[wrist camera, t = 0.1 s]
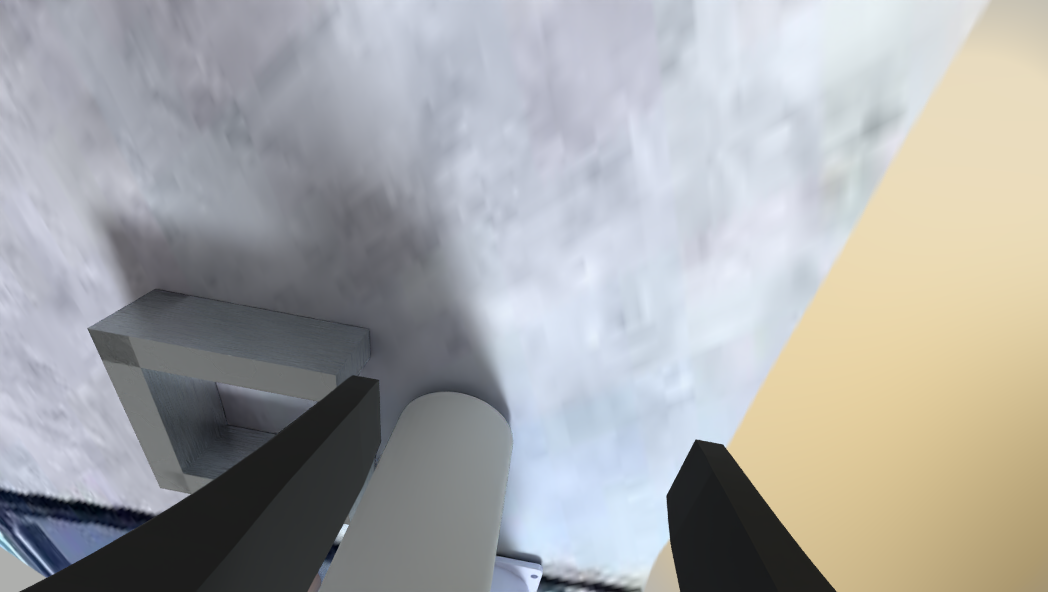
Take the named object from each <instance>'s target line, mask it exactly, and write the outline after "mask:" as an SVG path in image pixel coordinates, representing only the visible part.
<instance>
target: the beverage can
mask: <svg viewBox="0 0 1048 592" xmlns="http://www.w3.org/2000/svg"><path fill="white" fill-rule="evenodd" d="M512 447H513V436H512V432H511V429H510V426H509V425H508V423H507V421H506V420H505V418H504V417H503V416H502V415H501V414H500V413H499V412H498V411H497V410H496V409H495V408H493V407H492V406H491V405H489V404H488V403H486V402H484V401H482V400H480V399H478V398H476V397H473V396H470V395H467V394H463V393H457V392H435V393H430V394H426V395H423V396H421V397H418V398H416V399H415V400H413V401H412V402H411V403H409V404H408V405H407V406H406V408H405V409H404V411H403V412H402V414H401V415H400V417H399V419H398V422H397V424H396V426H395V428H394V430H393V432H392V434H391V437H390V439H389V441H388V443H387V445H386V447H385V449H384V452H383V454H382V456H381V458H380V460H379V462H378V464H377V467H376V469H375V471H374V473H373V475H372V477H371V479H370V481H369V484H368V486H367V488H366V490H365V492H364V494H363V496H362V499H361V501H360V503H359V505H358V507H357V509H356V511H355V514H354V516H353V518H352V520H351V522H350V524H349V526H348V528H347V531H346V533H345V535H344V537H343V539H342V541H341V543H340V546H339V548H338V550H337V552H336V554H335V556H334V558H333V561H332V563H331V565H330V567H329V569H328V571H327V573H326V576H325V578H324V580H323V582H322V584H321V586H320V588H319V590H318V592H490V590H491V584H492V577H493V571H494V564H495V558H496V551H497V545H498V538H499V532H500V525H501V519H502V512H503V506H504V499H505V493H506V486H507V479H508V473H509V466H510V460H511V453H512Z"/></svg>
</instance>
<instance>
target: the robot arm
mask: <svg viewBox="0 0 1048 592" xmlns="http://www.w3.org/2000/svg"><path fill="white" fill-rule="evenodd" d="M380 443H381V428H380V395H379V380H377V379H371V378H366V377H361V376H355V375H352V376H350V377H349V378H347V379H346V380H345V381H344V382H342V383H341V384H340V385H339V386H337V387H336V388H335V389H334V390H333V391H331V392H330V393H329V394H328V395H326V396H325V397H324V398H323V399H321V400H320V401H319V402H318V403H316V404H315V405H314V406H313V407H311V408H310V409H309V410H308V411H306V412H305V413H304V414H303V415H301V416H300V417H299V418H298V419H296V420H295V421H294V422H292V423H291V424H290V425H288V426H287V427H286V428H284V429H283V430H282V431H281V432H279V433H278V434H277V435H275V436H274V437H273V438H271V439H270V440H269V441H267V442H266V443H265V444H263V445H262V446H261V447H259V448H258V449H257V450H255V451H254V452H252V453H251V454H250V455H248V456H247V457H245V458H244V459H242V460H241V461H240V462H238V463H237V464H235V465H234V466H232V467H231V468H230V469H228V470H227V471H225V472H224V473H222V474H221V475H220V476H218V477H217V478H215V479H214V480H212V481H211V482H209V483H208V484H206V485H205V486H203V487H202V488H200V489H199V490H197V491H196V492H194V493H193V494H191V495H189V496H188V497H186V498H185V499H183V500H182V501H180V502H178V503H177V504H175V505H174V506H172V507H170V508H169V509H167V510H166V511H164V512H162V513H161V514H159V515H157V516H156V517H154V518H153V519H151V520H149V521H148V522H146V523H144V524H143V525H141V526H139V527H137V528H136V529H134V530H132V531H130V532H129V533H127V534H125V535H123V536H122V537H120V538H118V539H117V540H115V541H113V542H111V543H110V544H108V545H106V546H104V547H103V548H101V549H99V550H97V551H96V552H94V553H92V554H90V555H88V556H87V557H85V558H83V559H81V560H79V561H78V562H76V563H74V564H72V565H70V566H68V567H67V568H65V569H63V570H61V571H59V572H57V573H55V574H53V575H51V576H50V577H48V578H46V579H44V580H42V581H40V582H38V583H36V584H34V585H32V586H30V587H28V588H26V589H24V590H22V591H20V592H308V590H309V588H310V586H311V584H312V582H313V580H314V578H315V577H316V575H317V573H318V571H319V569H320V567H321V565H322V563H323V562H324V560H325V558H326V556H327V554H328V552H329V550H330V548H331V546H332V545H333V543H334V541H335V539H336V537H337V535H338V533H339V531H340V530H341V528H342V526H343V524H344V522H345V520H346V518H347V516H348V514H349V513H350V511H351V509H352V507H353V505H354V503H355V501H356V499H357V497H358V495H359V493H360V491H361V490H362V488H363V486H364V483H365V481H366V478H367V476H368V474H369V471H370V469H371V466H372V464H373V461H374V458H375V456H376V453H377V451H378V448H379V445H380ZM666 497H667V510H668V523H669V533H670V542H671V548H672V553H673V558H674V563H675V568H676V573H677V578H678V583H679V588H680V592H836V590H835V589H834V588H833V587H832V586H831V585H830V583H829V582H828V581H827V580H826V578H825V577H824V576H823V575H822V574H821V573H820V571H819V570H818V569H817V568H816V566H815V565H814V564H813V563H812V562H811V560H810V559H809V558H808V556H807V555H806V554H805V553H804V551H803V550H802V549H801V548H800V547H799V545H798V544H797V542H796V541H795V540H794V539H793V537H792V536H791V535H790V533H789V532H788V531H787V529H786V528H785V527H784V526H783V524H782V523H781V522H780V521H779V519H778V518H777V516H776V515H775V514H774V512H773V511H772V510H771V509H770V507H769V506H768V504H767V503H766V502H765V500H764V499H763V498H762V496H761V495H760V494H759V492H758V491H757V490H756V488H755V487H754V486H753V484H752V483H751V481H750V480H749V479H748V477H747V476H746V475H745V474H744V472H743V471H742V469H741V468H740V467H739V465H738V464H737V462H736V461H735V460H734V458H733V457H732V456H731V454H730V453H729V452H728V450H727V449H726V448H725V447H724V445H723V444H717V443H712V442H707V441H701V440H695V442H694V444H693V446H692V448H691V449H690V451H689V453H688V455H687V457H686V459H685V461H684V463H683V465H682V467H681V469H680V471H679V473H678V475H677V476H676V478H675V480H674V482H673V484H672V486H671V488H670V490H669V492H668V494H667V496H666ZM542 573H543V567H542V566H541V565H539V564H536V563H531V562H526V561H521V560H515V559H510V558H505V557H500V556H496V558H495V564H494V571H493V577H492V584H491V590H490V592H537V589H538V586H539V583H540V580H541V577H542Z"/></svg>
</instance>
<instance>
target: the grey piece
mask: <svg viewBox="0 0 1048 592" xmlns="http://www.w3.org/2000/svg"><path fill="white" fill-rule="evenodd" d="M87 329H88V331H89V333H90V335H91V337H92V340H93V342H94V344H95V346H96V348H97V350H98V353H99V355H100V357H101V359H102V361H103V364H104V366H105V368H106V370H107V372H108V375H109V377H110V379H111V381H112V383H113V386H114V388H115V390H116V392H117V394H118V396H119V399H120V401H121V403H122V405H123V407H124V410H125V412H126V414H127V416H128V418H129V421H130V423H131V425H132V427H133V429H134V431H135V434H136V436H137V438H138V440H139V442H140V445H141V447H142V449H143V451H144V453H145V456H146V458H147V460H148V462H149V464H150V467H151V469H152V471H153V473H154V475H155V477H156V480H157V482H158V484H159V486H160V488H163V489H168V490H173V491H178V492H183V493H188V494H193V493H194V492H196V491H197V490H199V489H200V488H202V487H203V486H205V485H206V484H208V483H209V482H211V481H212V480H214V479H215V478H217V477H218V476H220V475H221V474H222V473H224V472H225V471H227V470H228V469H230V468H231V467H232V466H234V465H235V464H237V463H238V462H240V461H241V460H242V459H244V458H245V457H247V456H248V455H250V454H251V453H252V452H254V451H255V450H257V449H258V448H259V447H261V446H262V445H263V444H265V443H266V442H267V441H269V440H270V439H271V438H273V437H274V436H275V435H277V434H272V433H267V432H261V431H256V430H251V429H246V428H240V427H235V426H230V425H228V424H227V421H226V417H225V414H224V410H223V407H222V404H221V400H220V397H219V393H218V390H217V387H216V383H215V382H218V383H224V384H229V385H234V386H239V387H245V388H250V389H255V390H260V391H266V392H271V393H276V394H282V395H287V396H292V397H297V398H303V399H308V400H313V401H318V402H319V401H320V400H321V399H323V398H324V397H325V396H326V395H328V394H329V393H330V392H331V391H333V390H334V389H335V388H336V387H337V386H339V385H340V384H341V383H342V382H344V381H345V380H346V379H347V378H349V377H350V376H352V375H355V376H358V375H359V373H360V372H361V370H362V369H363V367H364V366H365V364H366V363H367V361H368V360H369V358H370V338H369V329H366V328H360V327H355V326H350V325H344V324H339V323H334V322H328V321H323V320H318V319H312V318H307V317H302V316H296V315H291V314H286V313H280V312H275V311H270V310H264V309H259V308H254V307H248V306H243V305H238V304H232V303H227V302H222V301H216V300H211V299H206V298H200V297H195V296H190V295H184V294H179V293H174V292H168V291H163V290H158V289H154V290H153V291H151V292H149V293H147V294H146V295H144V296H142V297H141V298H139V299H137V300H135V301H134V302H132V303H130V304H129V305H127V306H125V307H123V308H122V309H120V310H118V311H117V312H115V313H113V314H111V315H110V316H108V317H106V318H105V319H103V320H101V321H99V322H98V323H96V324H94V325H93V326H91V327H89V328H87ZM374 471H375V458H374V461H373V464H372V466H371V469H370V471H369V474H368V476H367V478H366V481H365V483H364V486H363V488H362V490H361V491H360V493H359V495H358V497H357V499H356V501H355V503H354V505H353V507H352V509H351V511H350V513H349V514H348V516H347V518H346V520H345V522H344V524H348V525H349V524H350V522H351V520H352V518H353V516H354V514H355V511H356V509H357V507H358V505H359V503H360V501H361V499H362V496H363V494H364V492H365V490H366V488H367V486H368V484H369V481H370V479H371V477H372V475H373V473H374Z"/></svg>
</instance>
